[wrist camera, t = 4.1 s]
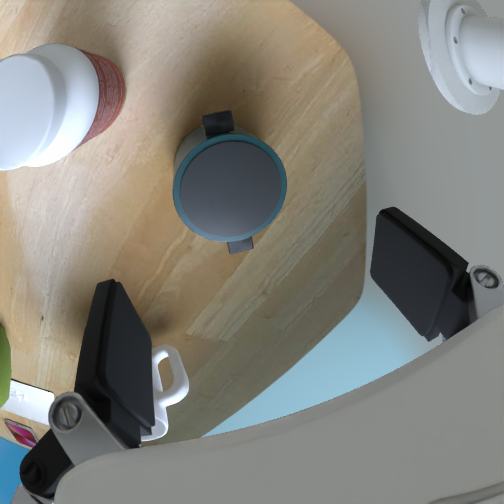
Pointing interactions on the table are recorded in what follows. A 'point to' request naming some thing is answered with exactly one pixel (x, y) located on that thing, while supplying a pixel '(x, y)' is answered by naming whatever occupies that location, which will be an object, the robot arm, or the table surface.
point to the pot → (227, 182)
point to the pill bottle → (55, 103)
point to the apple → (4, 367)
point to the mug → (168, 396)
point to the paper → (29, 402)
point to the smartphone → (22, 433)
